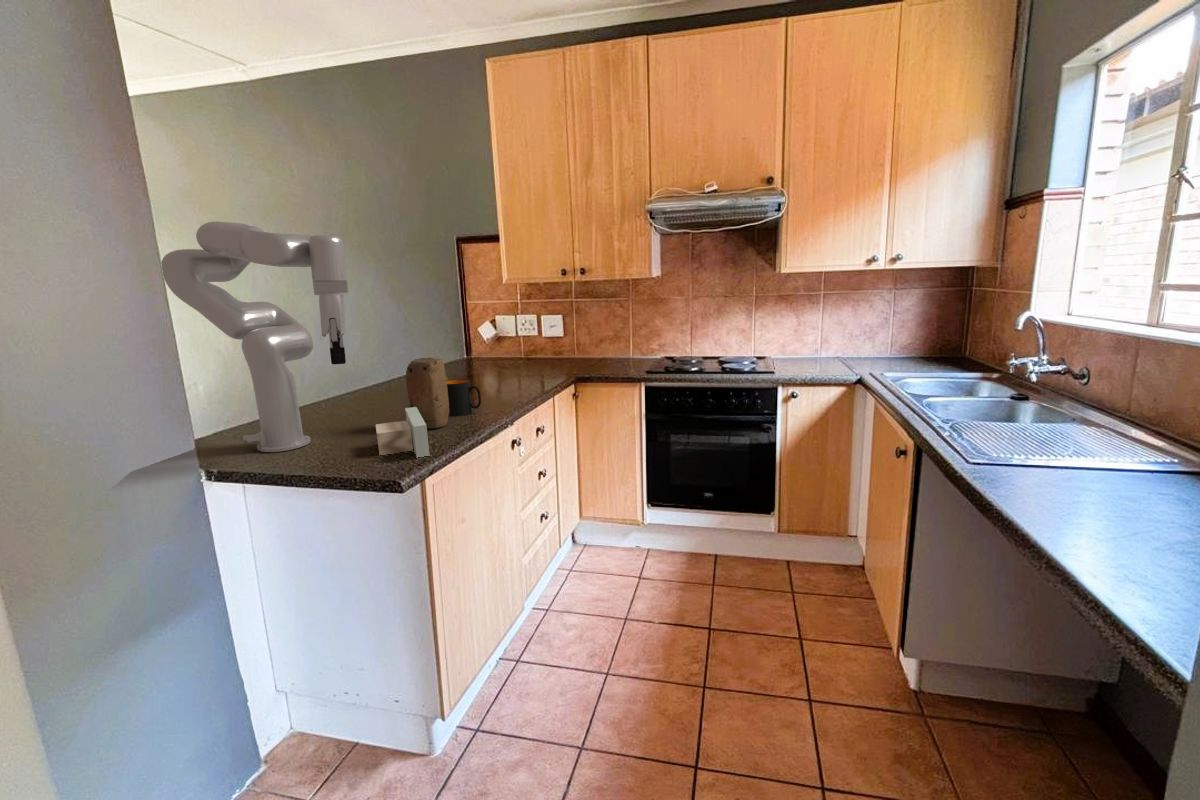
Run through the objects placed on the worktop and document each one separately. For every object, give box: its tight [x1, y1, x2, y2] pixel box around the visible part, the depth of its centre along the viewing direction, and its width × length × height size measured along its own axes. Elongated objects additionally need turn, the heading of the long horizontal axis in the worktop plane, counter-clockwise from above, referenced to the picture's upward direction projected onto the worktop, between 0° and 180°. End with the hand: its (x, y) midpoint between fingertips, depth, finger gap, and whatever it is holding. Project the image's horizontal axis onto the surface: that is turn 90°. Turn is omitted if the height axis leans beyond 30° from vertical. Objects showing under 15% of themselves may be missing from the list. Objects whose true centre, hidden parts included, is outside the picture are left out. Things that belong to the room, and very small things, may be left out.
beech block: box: [375, 420, 414, 456], centre depth 145 cm, size 8×10×6 cm
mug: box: [447, 378, 482, 417], centre depth 179 cm, size 8×12×10 cm
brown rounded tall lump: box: [405, 357, 450, 430], centre depth 164 cm, size 11×8×20 cm
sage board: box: [404, 407, 431, 459], centre depth 146 cm, size 3×22×8 cm, turn 24°
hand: (338, 363), depth 140 cm, fingers closed
